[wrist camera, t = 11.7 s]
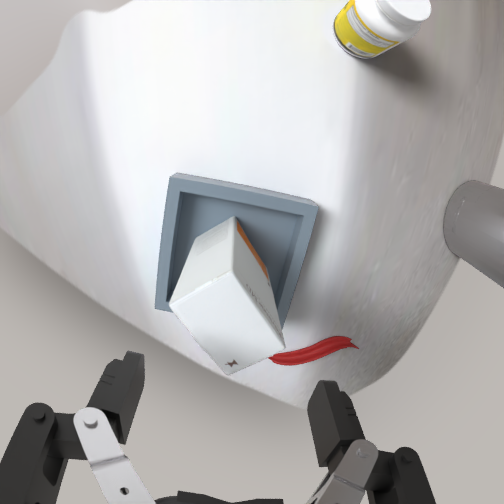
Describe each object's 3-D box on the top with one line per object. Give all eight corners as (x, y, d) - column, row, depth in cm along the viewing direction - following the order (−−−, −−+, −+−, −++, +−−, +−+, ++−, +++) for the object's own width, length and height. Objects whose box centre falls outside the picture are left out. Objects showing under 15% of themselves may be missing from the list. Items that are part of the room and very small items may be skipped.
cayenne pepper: (365, 333, 33) (371, 342, 31) (353, 362, 34) (358, 372, 33) (266, 328, 32) (268, 339, 30) (259, 360, 33) (260, 371, 31)
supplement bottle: (366, 7, 20) (415, -33, 10) (392, 53, 21) (452, 27, 12) (320, 17, 20) (357, -31, 11) (347, 65, 22) (399, 35, 13)
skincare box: (268, 267, 28) (289, 351, 17) (229, 289, 28) (226, 379, 17) (234, 212, 26) (233, 269, 15) (193, 236, 26) (164, 307, 15)
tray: (310, 199, 26) (318, 206, 24) (278, 313, 31) (281, 330, 28) (177, 172, 25) (169, 176, 22) (161, 293, 29) (154, 308, 26)
